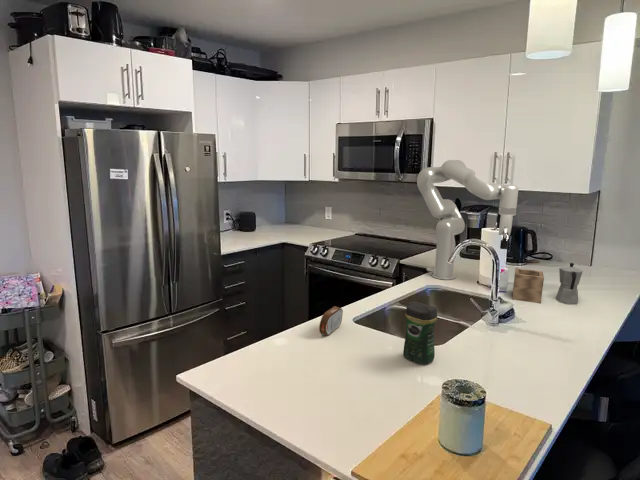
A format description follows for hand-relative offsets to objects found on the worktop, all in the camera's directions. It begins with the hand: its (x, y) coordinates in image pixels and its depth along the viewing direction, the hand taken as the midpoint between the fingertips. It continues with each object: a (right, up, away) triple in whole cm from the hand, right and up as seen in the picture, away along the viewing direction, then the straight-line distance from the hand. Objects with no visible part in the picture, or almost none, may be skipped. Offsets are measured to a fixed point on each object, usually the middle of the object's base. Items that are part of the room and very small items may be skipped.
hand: (503, 246), depth 210 cm
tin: (-84, -31, -47) cm, 101 cm away
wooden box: (+8, -24, -6) cm, 25 cm away
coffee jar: (-56, -35, -67) cm, 94 cm away
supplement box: (-1, -22, +5) cm, 22 cm away
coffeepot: (+25, -25, -10) cm, 36 cm away
